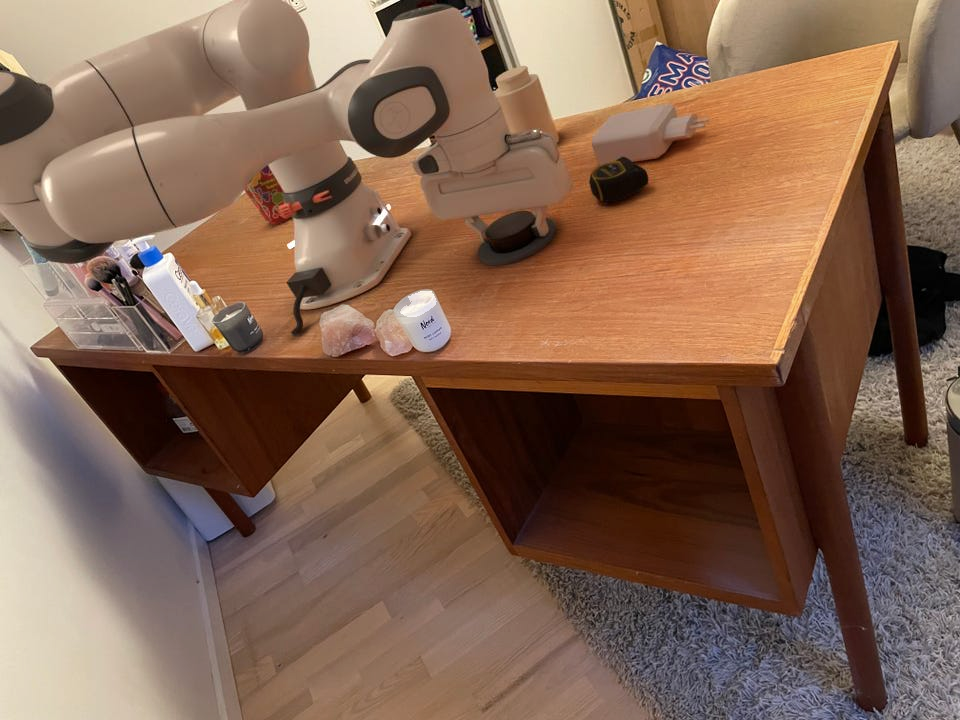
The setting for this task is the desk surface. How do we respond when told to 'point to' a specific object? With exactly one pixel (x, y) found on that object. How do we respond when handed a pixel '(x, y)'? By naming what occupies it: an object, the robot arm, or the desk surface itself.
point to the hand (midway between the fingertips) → (515, 237)
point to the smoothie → (267, 195)
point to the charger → (642, 133)
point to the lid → (511, 232)
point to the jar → (524, 102)
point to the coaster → (507, 258)
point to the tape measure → (617, 180)
